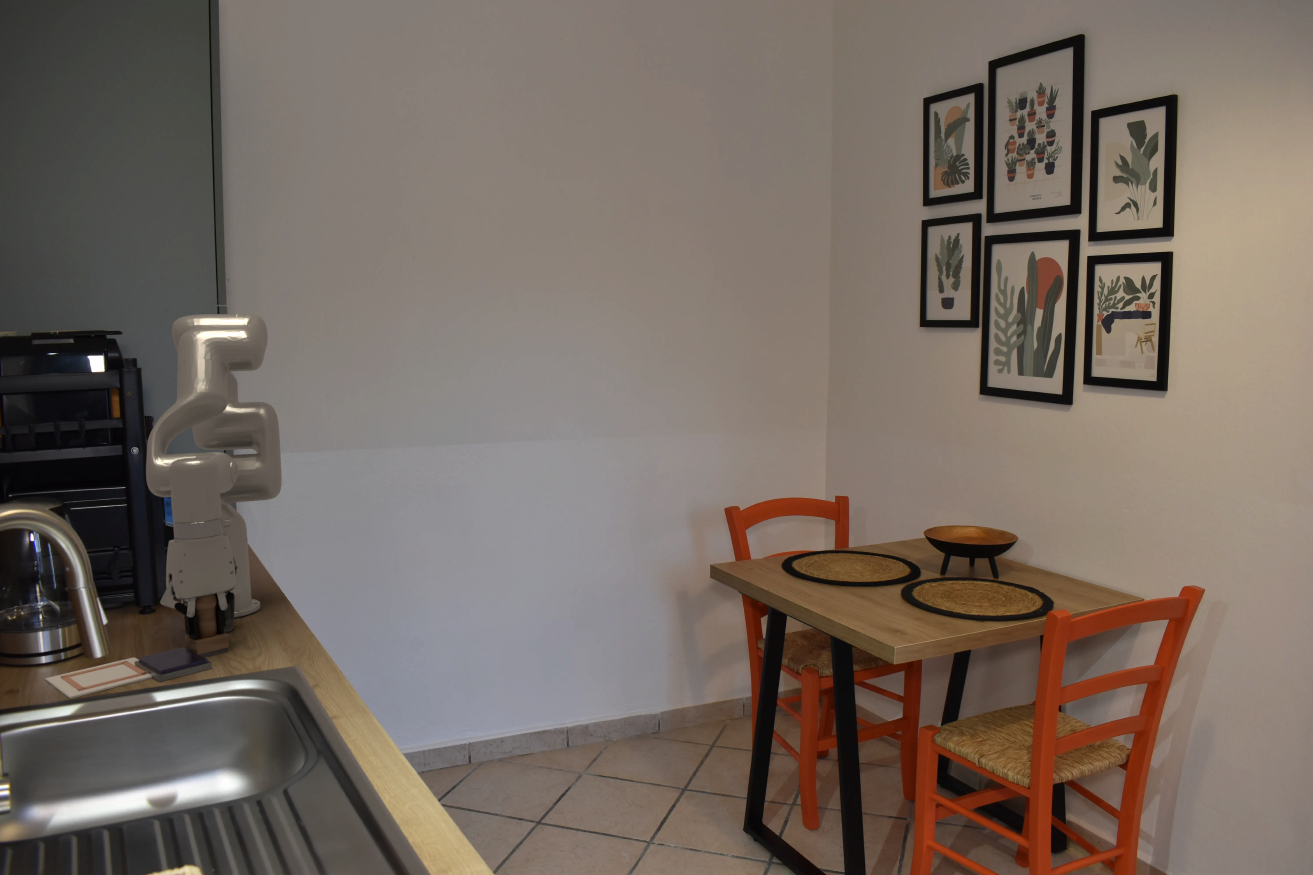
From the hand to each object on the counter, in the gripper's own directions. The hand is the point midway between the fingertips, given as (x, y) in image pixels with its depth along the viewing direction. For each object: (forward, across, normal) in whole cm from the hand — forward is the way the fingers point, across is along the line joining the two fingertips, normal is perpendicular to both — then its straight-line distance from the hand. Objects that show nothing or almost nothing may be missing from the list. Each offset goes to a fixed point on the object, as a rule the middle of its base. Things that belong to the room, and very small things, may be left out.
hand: (206, 633), depth 158 cm
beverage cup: (+3, -7, -12) cm, 14 cm away
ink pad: (+3, +7, +4) cm, 9 cm away
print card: (+3, +16, 0) cm, 16 cm away
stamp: (+3, 0, 0) cm, 3 cm away
